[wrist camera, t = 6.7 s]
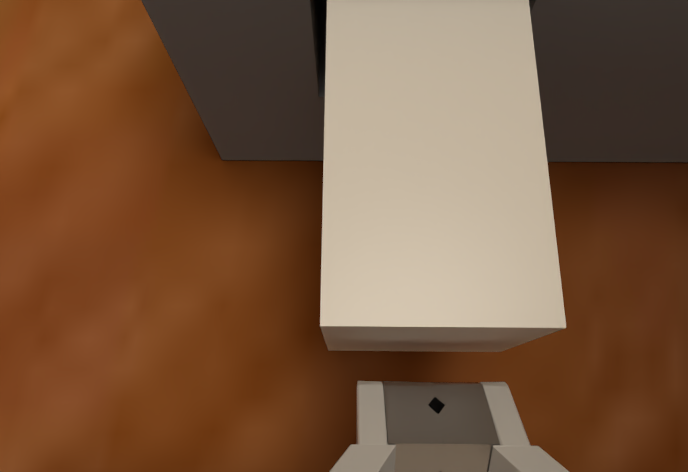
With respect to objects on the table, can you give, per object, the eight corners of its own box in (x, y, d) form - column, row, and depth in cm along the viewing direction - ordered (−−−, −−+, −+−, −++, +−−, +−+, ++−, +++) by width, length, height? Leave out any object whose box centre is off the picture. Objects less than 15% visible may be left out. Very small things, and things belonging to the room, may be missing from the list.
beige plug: (500, 351, 13) (566, 327, 9) (328, 350, 13) (319, 326, 9) (471, -18, 16) (510, -154, 12) (334, -19, 16) (330, -154, 12)
